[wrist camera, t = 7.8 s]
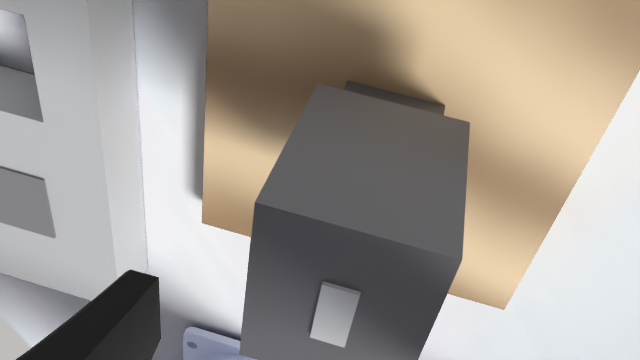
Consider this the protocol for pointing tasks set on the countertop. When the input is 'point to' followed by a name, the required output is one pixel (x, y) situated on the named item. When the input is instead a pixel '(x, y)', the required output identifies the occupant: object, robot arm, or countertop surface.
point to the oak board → (432, 85)
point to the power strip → (72, 149)
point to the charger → (357, 229)
